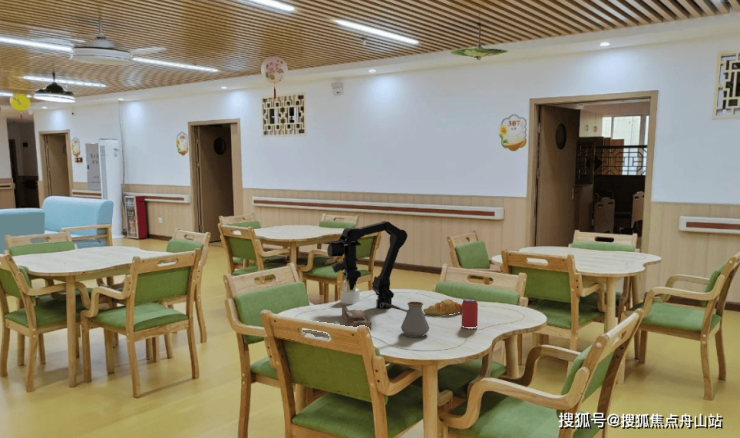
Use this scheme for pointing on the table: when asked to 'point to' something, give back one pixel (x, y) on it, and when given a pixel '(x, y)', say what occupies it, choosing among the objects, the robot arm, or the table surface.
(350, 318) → the guide board
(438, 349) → the table surface
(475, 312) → the beer can
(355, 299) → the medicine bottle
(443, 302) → the croissant
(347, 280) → the brass clip block
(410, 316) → the coffee pot
